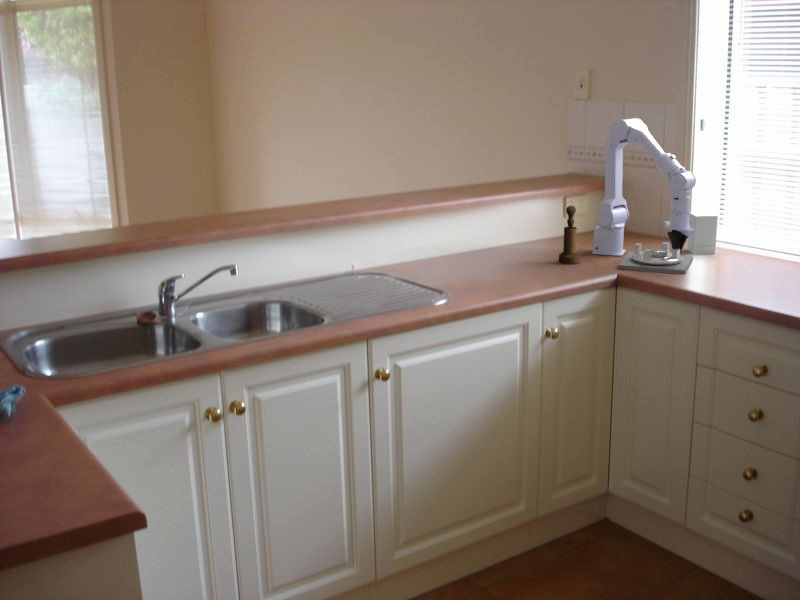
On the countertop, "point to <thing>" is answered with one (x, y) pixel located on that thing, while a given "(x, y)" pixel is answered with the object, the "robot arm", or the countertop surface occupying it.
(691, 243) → the supplement box
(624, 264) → the cap plate
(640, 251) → the domed lug disc
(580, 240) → the countertop surface
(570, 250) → the brown chess piece
